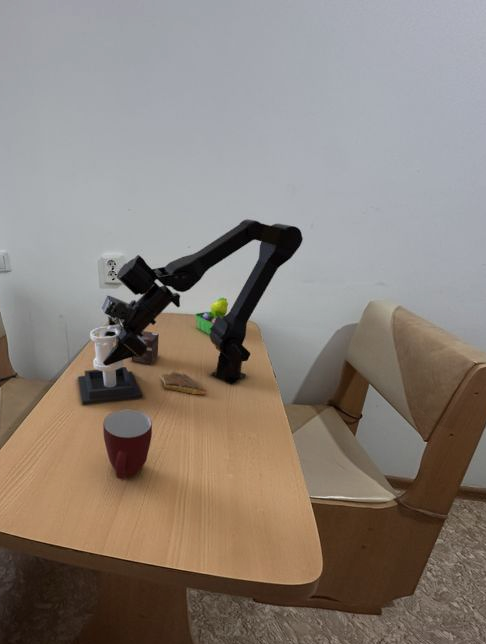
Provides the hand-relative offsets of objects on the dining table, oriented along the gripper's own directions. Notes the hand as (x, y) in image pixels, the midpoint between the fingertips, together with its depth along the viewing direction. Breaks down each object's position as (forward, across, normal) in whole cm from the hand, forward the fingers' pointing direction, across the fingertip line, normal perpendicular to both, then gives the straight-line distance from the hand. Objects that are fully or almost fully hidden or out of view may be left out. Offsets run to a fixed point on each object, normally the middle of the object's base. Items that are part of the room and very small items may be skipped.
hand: (101, 355), depth 87 cm
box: (-3, -14, +16) cm, 22 cm away
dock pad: (+5, 0, +7) cm, 9 cm away
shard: (-8, +2, +21) cm, 22 cm away
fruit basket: (-23, -31, +36) cm, 52 cm away
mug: (+6, +30, +7) cm, 31 cm away
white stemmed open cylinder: (+4, 0, +7) cm, 8 cm away
